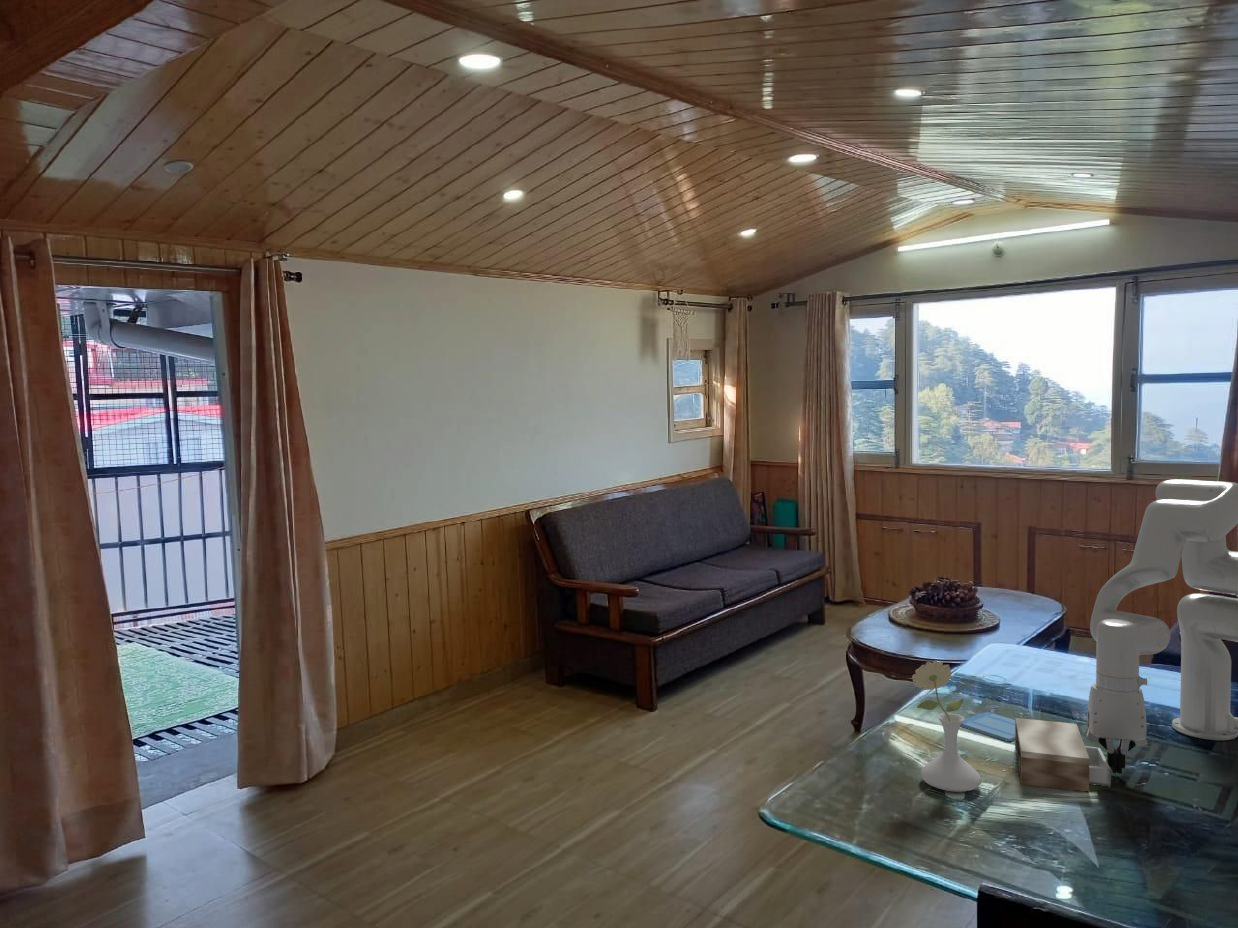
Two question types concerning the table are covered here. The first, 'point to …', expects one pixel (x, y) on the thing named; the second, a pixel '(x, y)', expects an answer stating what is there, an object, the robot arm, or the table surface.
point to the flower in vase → (949, 765)
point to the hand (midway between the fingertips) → (1116, 770)
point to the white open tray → (1098, 767)
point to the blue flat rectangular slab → (992, 725)
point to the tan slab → (1051, 754)
